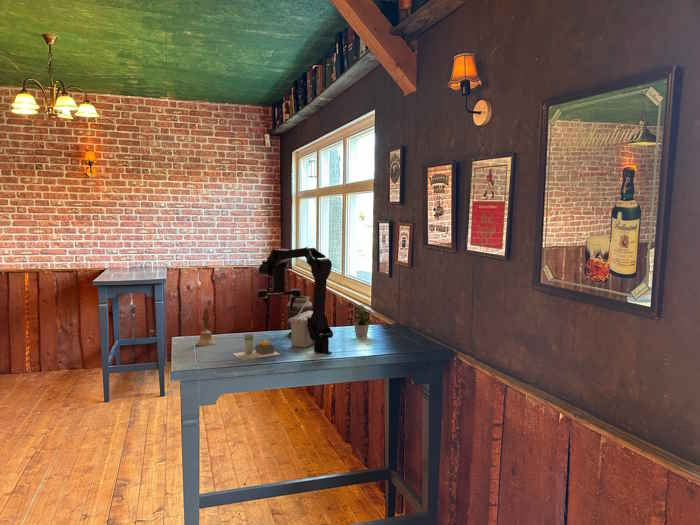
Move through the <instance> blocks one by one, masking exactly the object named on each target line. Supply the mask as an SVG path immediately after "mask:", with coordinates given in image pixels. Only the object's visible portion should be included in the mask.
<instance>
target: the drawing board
mask: <svg viewBox="0 0 700 525" xmlns="http://www.w3.org/2000/svg"><path fill="white" fill-rule="evenodd" d="M232 355H234V356H236V357H238V358H239V359H241V360H243V361H245V360H252V359H260V358H264V357H272V356H279V355H280V353H279V352H278V351H275V350H274V353H269V354H263V355H261V354H259V353H257V352H256V349H253V353H252V354H245V351H241V352H240V351H239V352H234V353H232Z"/></svg>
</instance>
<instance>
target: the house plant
mask: <svg viewBox="0 0 700 525" xmlns="http://www.w3.org/2000/svg"><path fill="white" fill-rule="evenodd" d="M364 305H365V304H360V306H359V304H356V307H357V310H356V309H354V308H353V307H351V306H348V307H349V308H350V309H351V311H353V313H354V314H355V316H356V317H355V316H352V315H350V317H349V318H348V319H351V318H352V319H353V320H354V321H356V322H355V323H354V324H353V325H354V332H355V334H354V335H355V338H356V337H358V338H357V339H364V338H363V337H367V338H368V333H369V327H370V323H368V322H369V321H371V320H373V319H374V318H373V319H370V318H371V317H370V314H369V313H370V312H371V311H372V308H370V309H369V311H368V312H367V313H366V308H365V306H364ZM365 313H366V315H365ZM373 321H374V320H373Z"/></svg>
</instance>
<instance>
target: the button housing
mask: <svg viewBox="0 0 700 525" xmlns="http://www.w3.org/2000/svg"><path fill="white" fill-rule="evenodd" d="M255 350H256V352H257V353H259V354H261V355H263V354H269V353H274V351H275V345H274V344H271V343H270V342H269V346H265V347H261V346H260V343H259V344H258V343H256V344H255Z"/></svg>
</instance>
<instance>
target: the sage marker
mask: <svg viewBox="0 0 700 525" xmlns="http://www.w3.org/2000/svg"><path fill="white" fill-rule="evenodd" d="M243 336H244V337H243V338H244V352H245V354H252V353H253V350H254V347H253V346H254V345H253V344H254V343H253V342H254V341H253V340H254V334H252V333H245V334H244V335H243Z"/></svg>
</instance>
